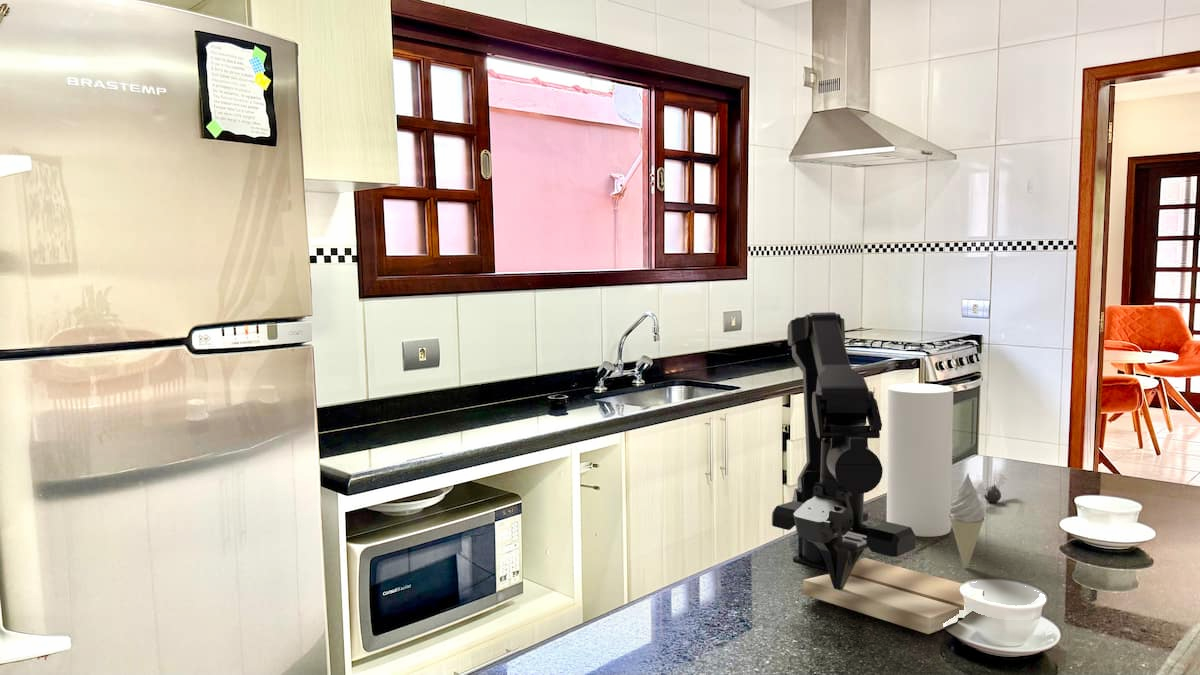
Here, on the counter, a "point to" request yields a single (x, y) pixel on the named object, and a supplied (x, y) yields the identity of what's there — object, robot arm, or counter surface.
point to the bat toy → (992, 490)
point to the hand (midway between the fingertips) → (838, 589)
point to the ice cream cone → (966, 519)
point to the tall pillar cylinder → (920, 457)
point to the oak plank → (883, 602)
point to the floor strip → (909, 581)
